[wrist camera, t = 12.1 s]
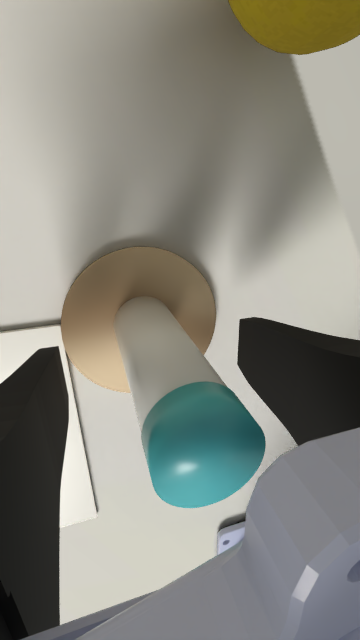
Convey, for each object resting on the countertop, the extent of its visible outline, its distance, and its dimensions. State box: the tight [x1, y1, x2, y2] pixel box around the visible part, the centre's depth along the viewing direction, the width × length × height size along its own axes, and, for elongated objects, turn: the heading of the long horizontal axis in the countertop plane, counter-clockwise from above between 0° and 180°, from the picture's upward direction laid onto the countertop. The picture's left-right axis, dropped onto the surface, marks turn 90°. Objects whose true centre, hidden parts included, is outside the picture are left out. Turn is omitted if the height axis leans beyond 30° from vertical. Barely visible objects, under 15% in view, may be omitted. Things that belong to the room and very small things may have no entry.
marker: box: [114, 296, 265, 508], centre depth 10 cm, size 3×3×8 cm
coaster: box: [61, 247, 216, 393], centre depth 14 cm, size 7×7×1 cm
